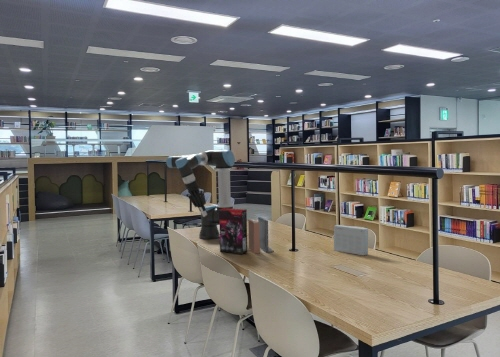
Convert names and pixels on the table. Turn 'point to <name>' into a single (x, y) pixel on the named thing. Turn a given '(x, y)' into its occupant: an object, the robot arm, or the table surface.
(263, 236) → the bookend
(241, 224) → the graphics card box
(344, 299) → the table surface
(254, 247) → the book
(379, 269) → the table surface
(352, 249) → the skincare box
